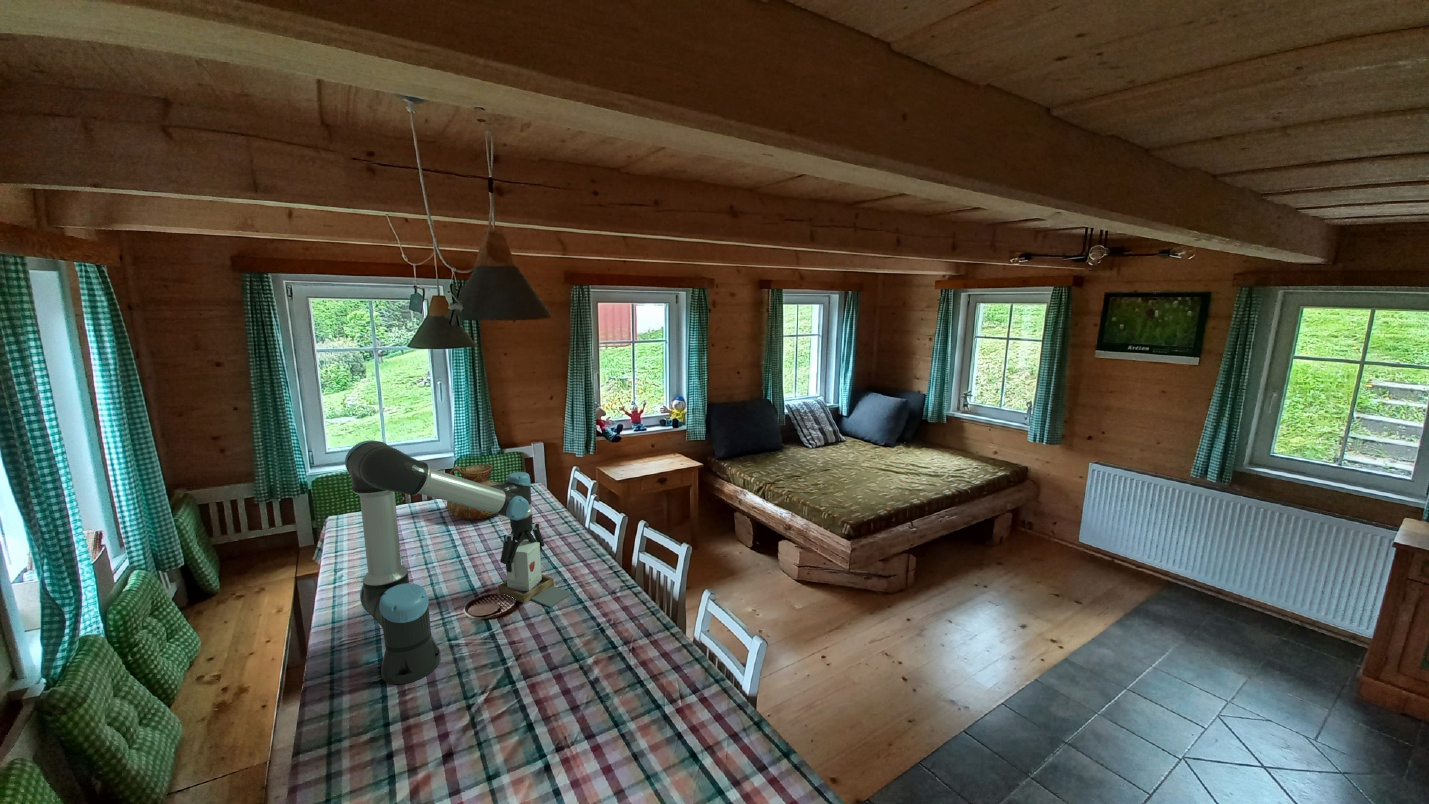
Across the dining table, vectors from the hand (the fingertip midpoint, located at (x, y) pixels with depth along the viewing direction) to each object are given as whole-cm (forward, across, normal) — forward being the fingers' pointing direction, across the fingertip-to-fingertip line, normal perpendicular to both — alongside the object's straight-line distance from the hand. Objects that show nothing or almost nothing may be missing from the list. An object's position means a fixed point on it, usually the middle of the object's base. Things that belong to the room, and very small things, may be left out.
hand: (524, 572), depth 197 cm
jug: (+7, +38, +77) cm, 87 cm away
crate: (+7, 0, 0) cm, 7 cm away
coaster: (+7, +2, -12) cm, 14 cm away
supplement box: (+5, 0, 0) cm, 5 cm away
